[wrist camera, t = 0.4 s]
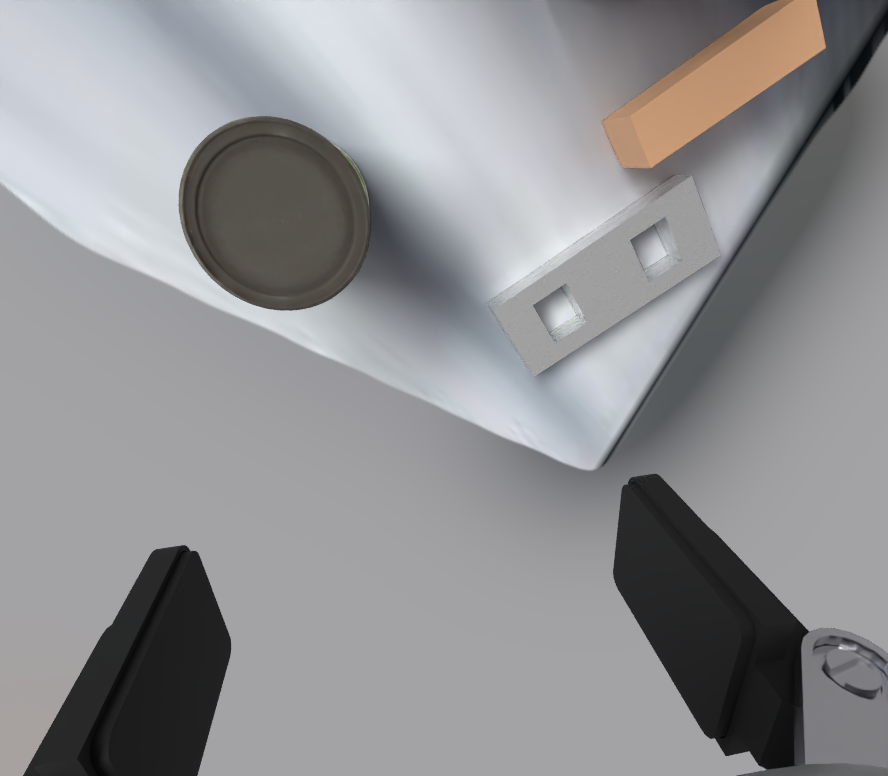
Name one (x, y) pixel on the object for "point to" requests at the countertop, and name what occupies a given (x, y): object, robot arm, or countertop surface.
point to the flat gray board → (608, 273)
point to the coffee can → (275, 213)
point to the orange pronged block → (715, 82)
